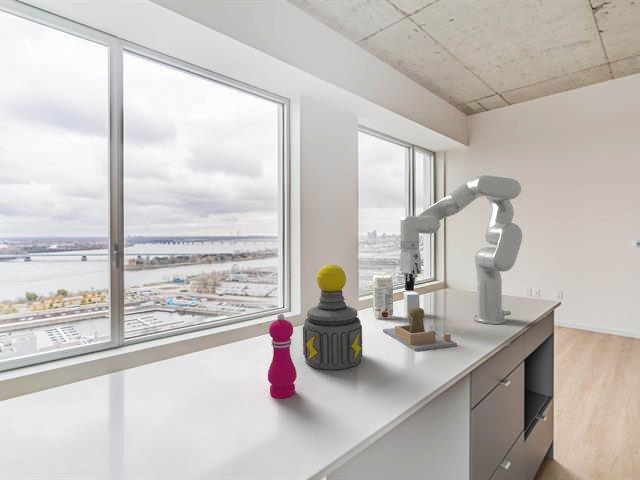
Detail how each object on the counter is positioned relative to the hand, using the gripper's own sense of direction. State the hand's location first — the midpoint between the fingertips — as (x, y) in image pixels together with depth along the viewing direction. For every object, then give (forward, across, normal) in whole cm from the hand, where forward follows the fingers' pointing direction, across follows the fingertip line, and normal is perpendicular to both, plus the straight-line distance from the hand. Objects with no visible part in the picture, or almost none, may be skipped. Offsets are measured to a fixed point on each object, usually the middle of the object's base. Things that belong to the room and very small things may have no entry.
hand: (409, 290), depth 151 cm
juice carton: (+15, +17, +4) cm, 23 cm away
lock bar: (+14, -10, -1) cm, 17 cm away
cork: (+14, -19, +8) cm, 25 cm away
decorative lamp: (+16, -27, +42) cm, 52 cm away
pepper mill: (+16, -45, +61) cm, 77 cm away
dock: (+15, -16, +6) cm, 23 cm away
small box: (+15, +16, -10) cm, 24 cm away
